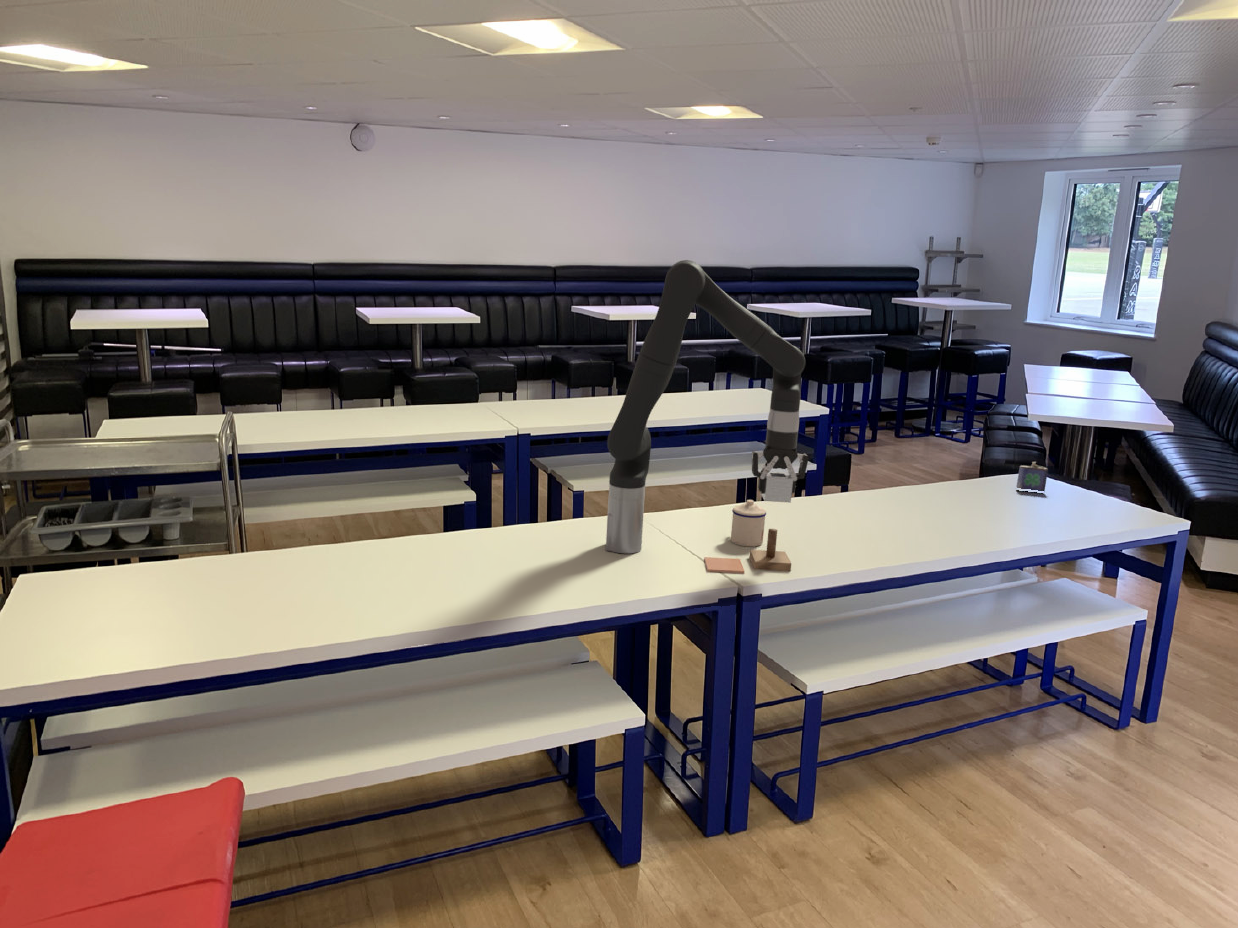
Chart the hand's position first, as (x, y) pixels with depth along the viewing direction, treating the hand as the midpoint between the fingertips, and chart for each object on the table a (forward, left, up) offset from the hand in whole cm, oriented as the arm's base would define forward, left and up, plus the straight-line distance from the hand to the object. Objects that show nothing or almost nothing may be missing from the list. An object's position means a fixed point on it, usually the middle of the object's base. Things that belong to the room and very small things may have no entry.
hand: (776, 493), depth 230 cm
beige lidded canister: (-4, +18, -19) cm, 27 cm away
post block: (0, 0, -18) cm, 18 cm away
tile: (-12, -4, -18) cm, 22 cm away
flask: (+105, +89, -19) cm, 139 cm away
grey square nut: (0, 0, -1) cm, 1 cm away
